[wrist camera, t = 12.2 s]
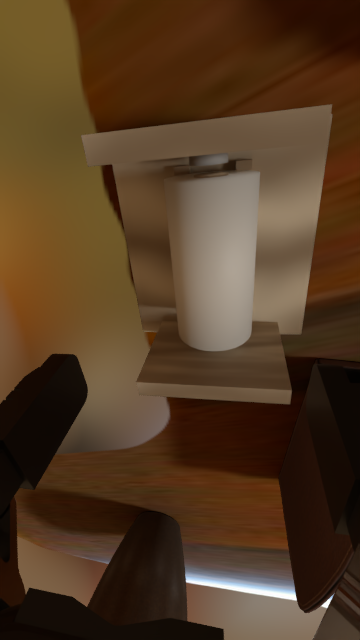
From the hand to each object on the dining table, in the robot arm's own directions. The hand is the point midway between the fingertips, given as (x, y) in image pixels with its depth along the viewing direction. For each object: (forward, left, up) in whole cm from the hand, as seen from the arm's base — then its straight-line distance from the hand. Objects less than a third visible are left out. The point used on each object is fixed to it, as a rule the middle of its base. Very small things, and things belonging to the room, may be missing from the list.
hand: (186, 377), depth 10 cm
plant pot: (+48, -11, -16) cm, 52 cm away
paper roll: (0, 0, -11) cm, 11 cm away
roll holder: (0, 0, -16) cm, 16 cm away
